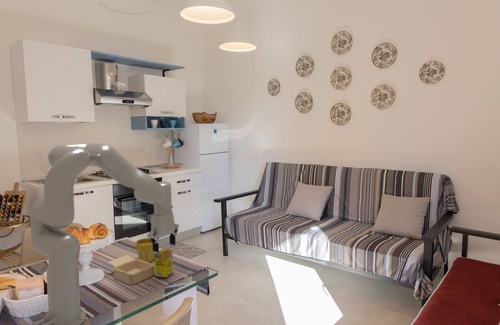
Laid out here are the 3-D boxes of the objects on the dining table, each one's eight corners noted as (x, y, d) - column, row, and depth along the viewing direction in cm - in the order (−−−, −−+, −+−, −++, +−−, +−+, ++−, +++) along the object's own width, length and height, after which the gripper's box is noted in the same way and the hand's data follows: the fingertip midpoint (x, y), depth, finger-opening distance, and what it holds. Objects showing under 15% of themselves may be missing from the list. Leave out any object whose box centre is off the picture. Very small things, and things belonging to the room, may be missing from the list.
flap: (107, 261, 155) (107, 262, 155) (115, 267, 152) (115, 267, 152) (127, 254, 164) (127, 255, 164) (135, 259, 161) (135, 259, 161)
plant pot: (161, 260, 172) (161, 241, 171) (142, 266, 165) (141, 246, 163) (151, 254, 179) (150, 236, 178) (132, 260, 172) (131, 240, 171)
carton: (131, 286, 145) (131, 275, 144) (113, 278, 152) (112, 268, 151) (156, 274, 156) (156, 264, 155) (138, 268, 163) (137, 258, 162)
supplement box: (167, 279, 151) (166, 255, 150) (154, 277, 153) (154, 253, 151) (173, 273, 157) (172, 250, 156) (160, 272, 158) (160, 249, 157)
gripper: (171, 204, 161) (172, 240, 163) (141, 213, 147) (142, 252, 149) (183, 207, 157) (184, 243, 159) (153, 216, 142) (154, 256, 145)
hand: (164, 247), depth 154 cm, fingers open, 9 cm apart
